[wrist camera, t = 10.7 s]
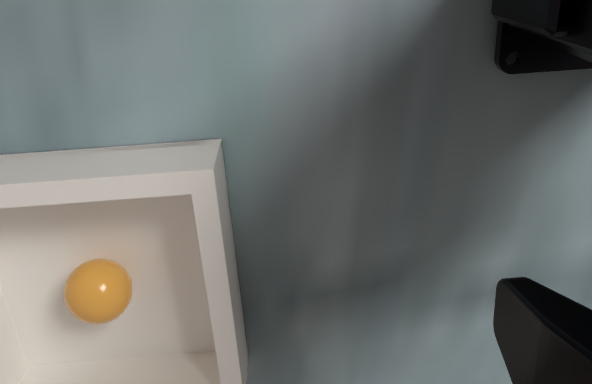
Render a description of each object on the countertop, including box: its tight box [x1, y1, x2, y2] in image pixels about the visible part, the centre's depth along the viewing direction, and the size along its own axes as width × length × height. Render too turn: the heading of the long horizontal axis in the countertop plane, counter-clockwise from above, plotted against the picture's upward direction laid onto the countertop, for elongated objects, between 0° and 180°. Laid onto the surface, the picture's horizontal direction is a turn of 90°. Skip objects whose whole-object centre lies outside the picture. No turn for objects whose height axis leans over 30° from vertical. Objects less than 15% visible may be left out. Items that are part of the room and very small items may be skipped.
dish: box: [0, 139, 248, 384], centre depth 20 cm, size 10×10×3 cm
